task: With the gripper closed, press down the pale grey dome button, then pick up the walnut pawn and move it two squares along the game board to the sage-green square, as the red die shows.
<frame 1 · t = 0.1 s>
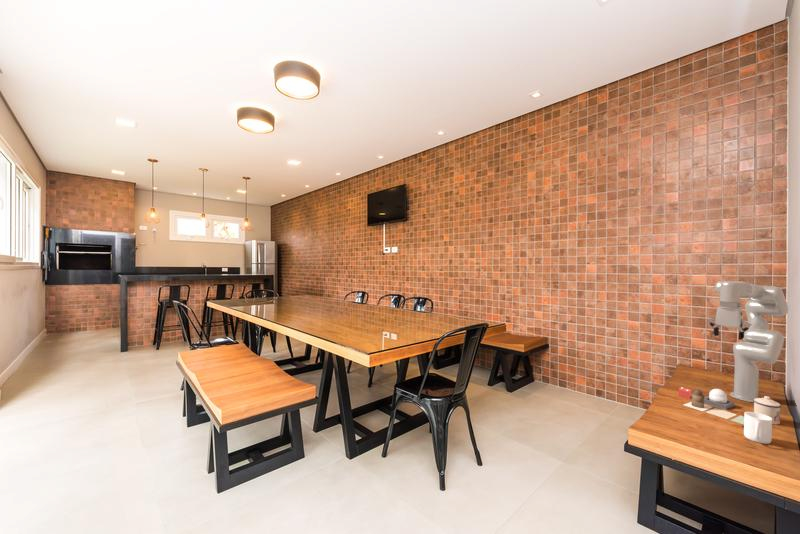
hand: (728, 337, 181), 37 cm above the bench, tool pointing down, fingers open, 9 cm apart
teacup with lid: (766, 420, 167), on the bench
pawn: (697, 405, 179), point 1 cm above the bench, touching game board
game board: (721, 415, 171), on the bench
dome housing: (717, 406, 182), on the bench
cup: (757, 441, 147), on the bench
red die: (684, 398, 192), on the bench
dome: (718, 395, 182), point 6 cm above the bench, slide at 0.0 cm
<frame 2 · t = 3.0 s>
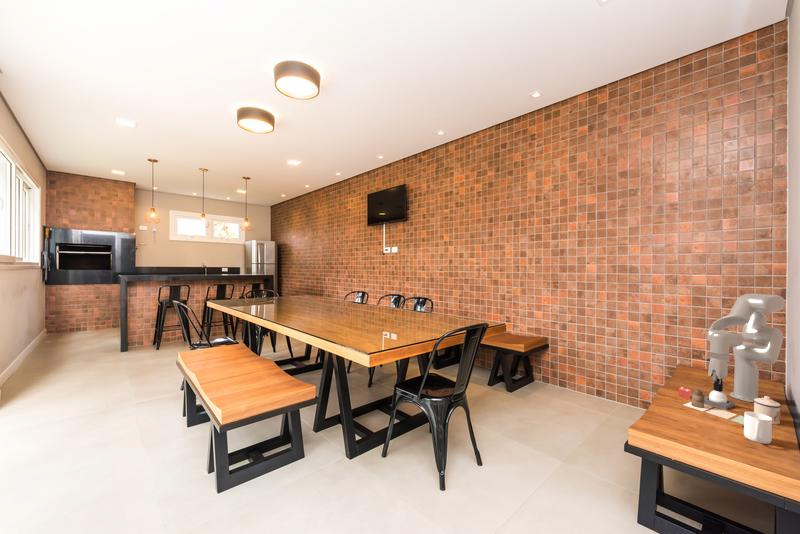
hand: (717, 390, 182), 8 cm above the bench, tool pointing down, fingers closed
dome: (718, 397, 182), point 5 cm above the bench, slide at 0.8 cm, touching gripper
everything else where it was.
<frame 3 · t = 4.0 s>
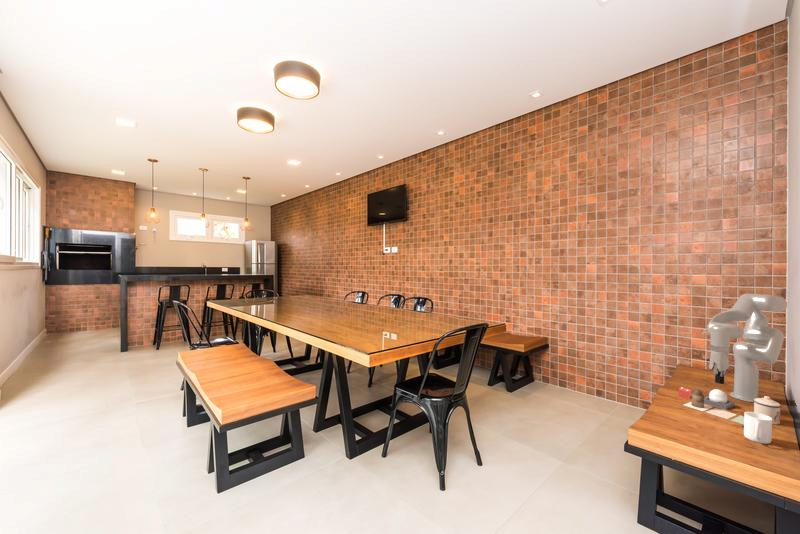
hand: (719, 383, 182), 12 cm above the bench, tool pointing down, fingers closed
dome: (718, 396, 182), point 5 cm above the bench, slide at 0.2 cm
everything else where it was.
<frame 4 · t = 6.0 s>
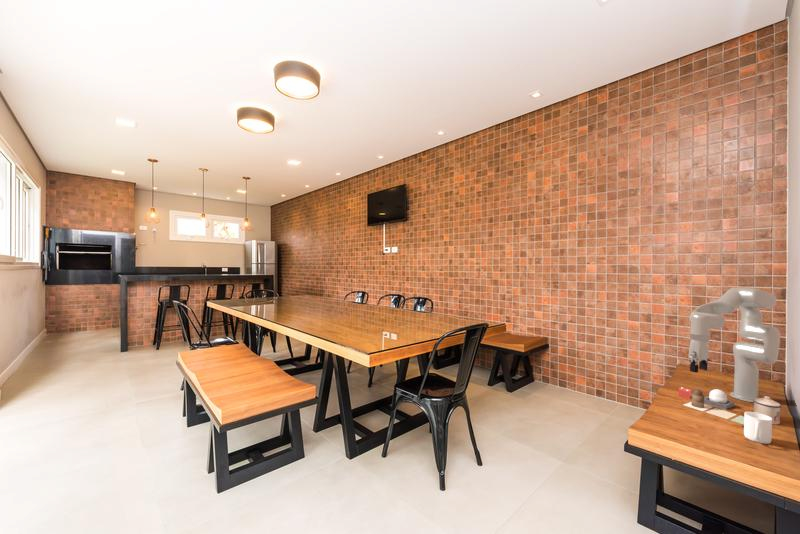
hand: (698, 370, 179), 20 cm above the bench, tool pointing down, fingers open, 9 cm apart
nothing on the bench moved.
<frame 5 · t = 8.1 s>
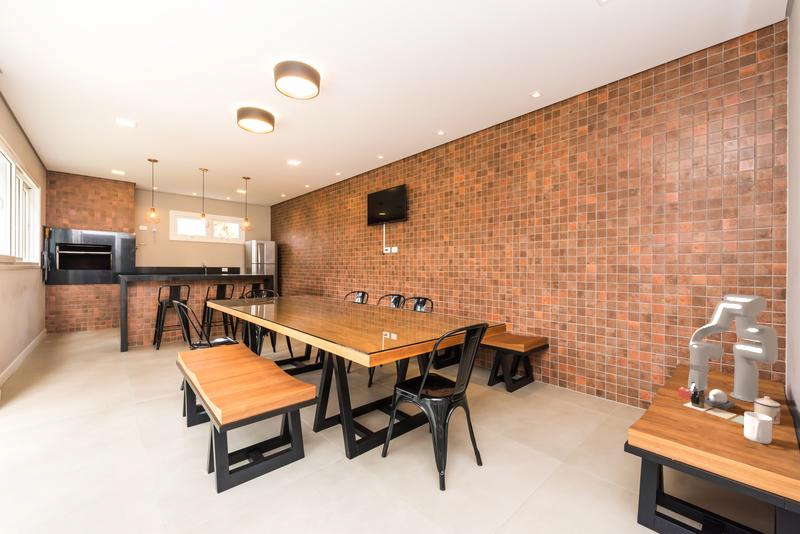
hand: (697, 402, 179), 3 cm above the bench, tool pointing down, fingers closed on pawn, 4 cm apart
pawn: (697, 405, 179), point 1 cm above the bench, touching game board, gripper
everything else where it was.
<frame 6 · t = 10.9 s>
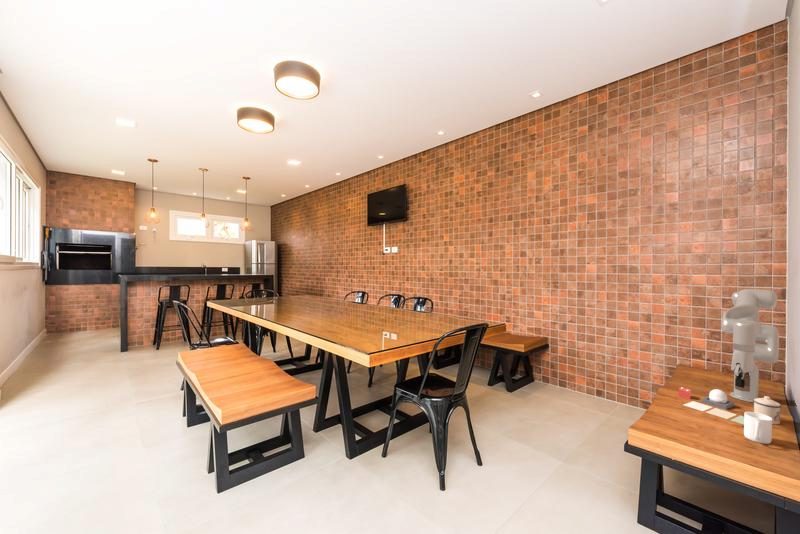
hand: (742, 385, 164), 18 cm above the bench, tool pointing down, fingers closed on pawn, 4 cm apart
pawn: (742, 389, 164), point 16 cm above the bench, touching gripper
everything else where it was.
when the fingers open (5 cm above the bench, at t = 13.9 s): pawn drops 2 cm, resting on game board.
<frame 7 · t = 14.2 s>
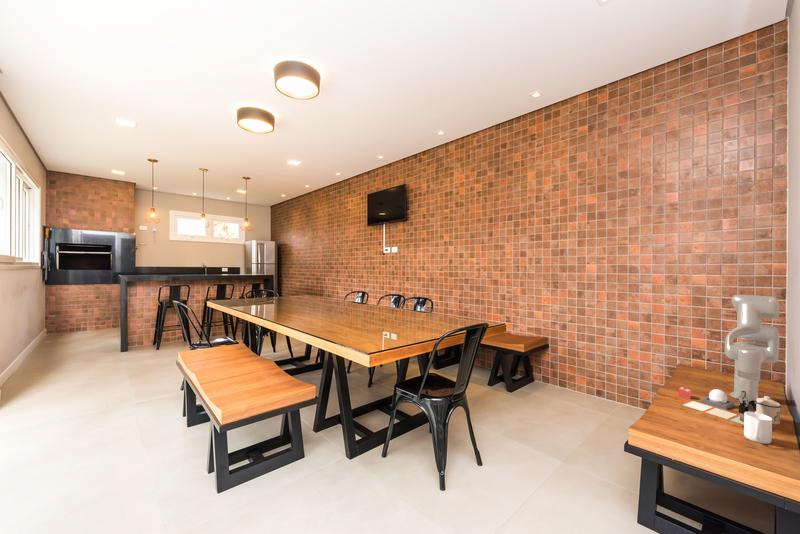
hand: (747, 411, 162), 6 cm above the bench, tool pointing down, fingers open, 8 cm apart
pawn: (747, 421, 162), point 1 cm above the bench, touching game board
everything else where it was.
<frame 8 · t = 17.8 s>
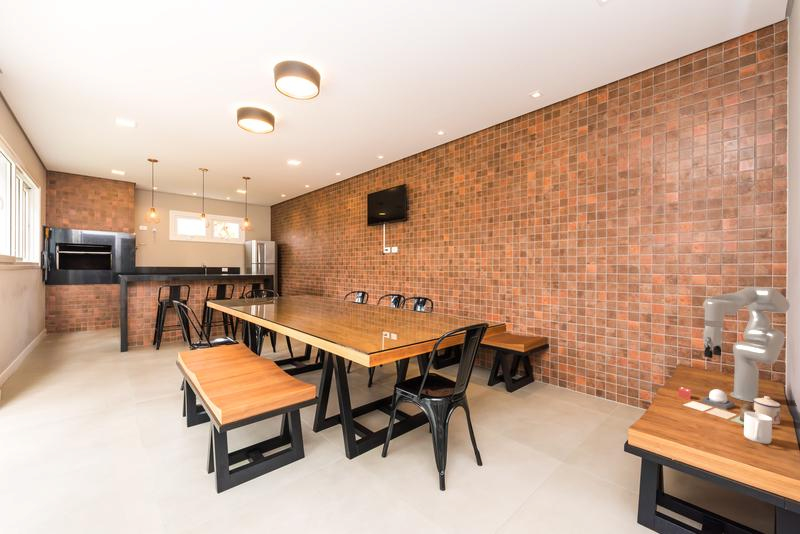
hand: (712, 356, 182), 26 cm above the bench, tool pointing down, fingers open, 9 cm apart
nothing on the bench moved.
at the end: pawn inside the target area (0.0 cm from its centre), point 1.1 cm above the bench; pawn tilted 1°; the gripper is holding nothing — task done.
